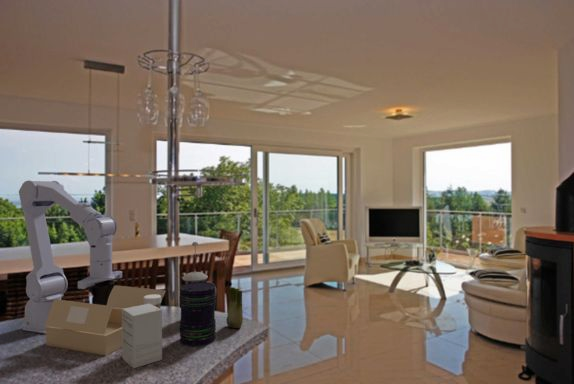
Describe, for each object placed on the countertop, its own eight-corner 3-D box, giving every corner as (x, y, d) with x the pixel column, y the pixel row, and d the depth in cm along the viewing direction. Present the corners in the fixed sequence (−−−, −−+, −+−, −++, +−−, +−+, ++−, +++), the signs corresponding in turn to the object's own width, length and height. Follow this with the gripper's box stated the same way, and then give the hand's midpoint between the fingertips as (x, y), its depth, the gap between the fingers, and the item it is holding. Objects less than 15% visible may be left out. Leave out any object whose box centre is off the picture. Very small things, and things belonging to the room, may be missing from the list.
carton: (46, 345, 110) (46, 326, 110) (102, 321, 129) (102, 306, 129) (106, 355, 104) (106, 335, 104) (155, 329, 123) (155, 312, 123)
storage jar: (198, 331, 122) (199, 280, 121) (223, 338, 116) (223, 285, 116) (171, 341, 113) (171, 287, 113) (196, 349, 108) (196, 292, 108)
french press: (181, 315, 136) (181, 239, 136) (217, 314, 137) (217, 239, 137) (176, 325, 126) (176, 244, 126) (215, 324, 127) (215, 243, 127)
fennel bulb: (244, 329, 123) (244, 289, 123) (228, 331, 122) (228, 290, 122) (240, 323, 129) (241, 284, 129) (225, 324, 127) (225, 285, 127)
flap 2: (114, 285, 134) (115, 286, 134) (103, 304, 129) (104, 305, 130) (165, 290, 127) (165, 291, 128) (155, 311, 123) (156, 312, 123)
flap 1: (46, 326, 110) (44, 325, 109) (55, 299, 112) (53, 298, 112) (104, 334, 103) (102, 334, 103) (112, 306, 106) (111, 306, 106)
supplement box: (150, 351, 107) (150, 302, 106) (162, 360, 101) (162, 309, 101) (121, 359, 102) (121, 308, 102) (132, 369, 96) (132, 315, 96)
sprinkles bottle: (163, 347, 109) (163, 296, 109) (145, 350, 107) (145, 299, 107) (158, 341, 113) (158, 292, 113) (141, 345, 111) (141, 295, 110)
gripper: (92, 265, 107) (92, 318, 107) (130, 256, 121) (130, 303, 121) (71, 264, 109) (71, 315, 109) (111, 255, 123) (111, 300, 123)
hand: (101, 308), depth 115 cm, fingers closed
